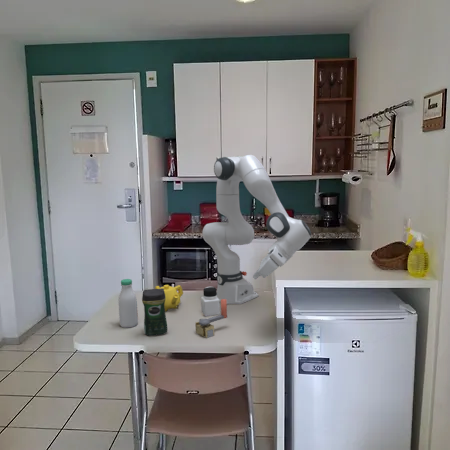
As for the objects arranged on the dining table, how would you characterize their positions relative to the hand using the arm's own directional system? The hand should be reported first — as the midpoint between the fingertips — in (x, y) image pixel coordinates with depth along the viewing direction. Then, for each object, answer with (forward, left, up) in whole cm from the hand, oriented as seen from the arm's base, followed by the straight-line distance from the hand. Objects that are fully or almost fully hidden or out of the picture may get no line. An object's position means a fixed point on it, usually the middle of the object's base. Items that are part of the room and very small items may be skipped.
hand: (254, 277), depth 174 cm
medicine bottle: (+3, -27, -23) cm, 35 cm away
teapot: (+15, -46, -23) cm, 54 cm away
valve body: (+18, -10, -22) cm, 31 cm away
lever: (+14, -10, -18) cm, 25 cm away
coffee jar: (+33, -24, -23) cm, 47 cm away
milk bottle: (+38, -39, -23) cm, 59 cm away
